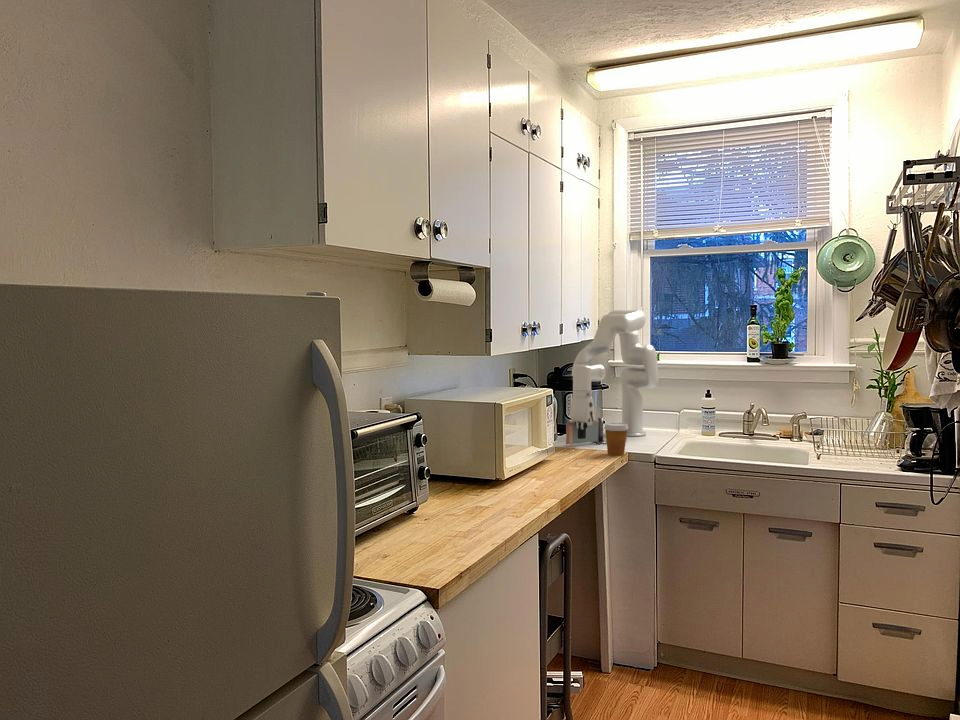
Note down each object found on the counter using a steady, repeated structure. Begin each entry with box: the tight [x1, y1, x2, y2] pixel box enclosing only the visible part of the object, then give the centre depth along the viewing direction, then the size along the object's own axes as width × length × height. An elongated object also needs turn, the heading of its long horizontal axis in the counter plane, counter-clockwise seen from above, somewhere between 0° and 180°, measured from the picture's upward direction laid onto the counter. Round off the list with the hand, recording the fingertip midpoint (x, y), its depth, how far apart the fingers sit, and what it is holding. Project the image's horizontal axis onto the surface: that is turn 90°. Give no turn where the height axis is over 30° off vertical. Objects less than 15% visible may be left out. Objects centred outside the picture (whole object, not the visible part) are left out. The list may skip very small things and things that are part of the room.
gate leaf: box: [565, 419, 599, 445], centre depth 312 cm, size 16×2×9 cm, turn 123°
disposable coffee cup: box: [603, 422, 628, 457], centre depth 290 cm, size 10×10×12 cm
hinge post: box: [591, 417, 607, 445], centre depth 317 cm, size 7×7×11 cm
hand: (581, 438), depth 306 cm, fingers closed
